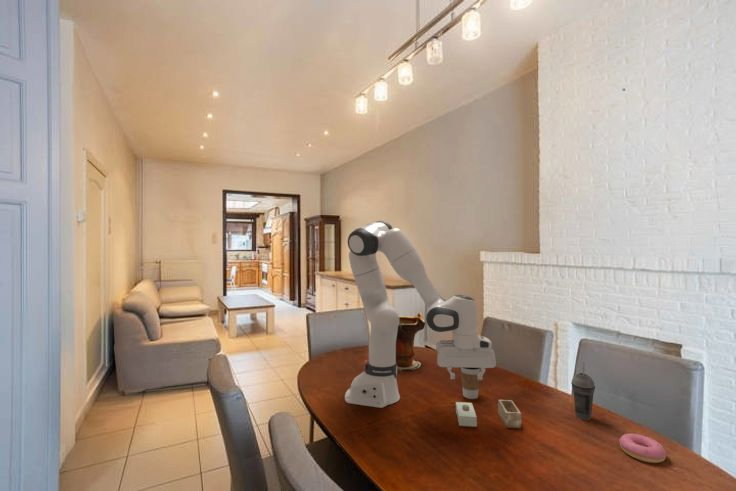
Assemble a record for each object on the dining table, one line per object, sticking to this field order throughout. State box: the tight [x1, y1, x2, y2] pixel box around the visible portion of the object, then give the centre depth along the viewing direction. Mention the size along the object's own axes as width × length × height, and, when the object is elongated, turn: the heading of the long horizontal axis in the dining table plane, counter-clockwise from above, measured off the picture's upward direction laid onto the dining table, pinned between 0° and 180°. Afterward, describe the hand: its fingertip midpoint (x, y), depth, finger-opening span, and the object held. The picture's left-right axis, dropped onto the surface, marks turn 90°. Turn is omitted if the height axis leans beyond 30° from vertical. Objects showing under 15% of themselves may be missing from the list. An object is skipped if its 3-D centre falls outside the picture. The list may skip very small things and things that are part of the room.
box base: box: [497, 399, 522, 429], centre depth 121 cm, size 5×10×5 cm, turn 173°
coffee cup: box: [460, 367, 481, 400], centre depth 141 cm, size 8×8×15 cm
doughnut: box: [618, 432, 668, 464], centre depth 101 cm, size 11×11×4 cm
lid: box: [455, 401, 478, 428], centre depth 123 cm, size 6×11×5 cm, turn 172°
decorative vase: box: [396, 312, 426, 371], centre depth 179 cm, size 21×23×28 cm
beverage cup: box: [570, 362, 596, 421], centre depth 123 cm, size 7×7×20 cm
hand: (466, 379), depth 123 cm, fingers open, 8 cm apart
